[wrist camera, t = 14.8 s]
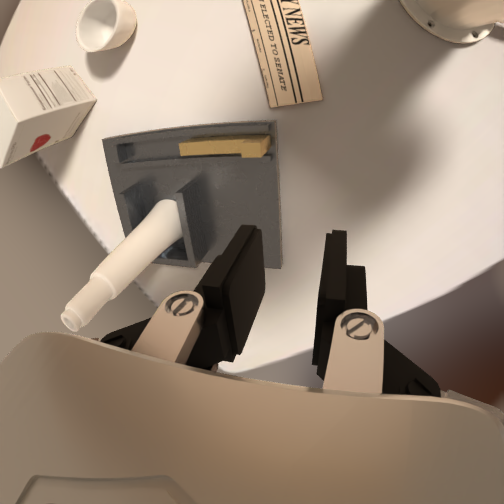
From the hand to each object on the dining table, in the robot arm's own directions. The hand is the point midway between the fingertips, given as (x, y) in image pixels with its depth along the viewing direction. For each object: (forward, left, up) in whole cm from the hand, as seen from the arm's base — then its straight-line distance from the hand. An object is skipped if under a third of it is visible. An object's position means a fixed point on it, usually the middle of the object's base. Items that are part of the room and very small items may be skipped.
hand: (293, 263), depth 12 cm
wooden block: (+11, 0, -24) cm, 26 cm away
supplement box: (+37, -9, -25) cm, 46 cm away
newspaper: (+4, -16, -26) cm, 31 cm away
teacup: (+25, -19, -25) cm, 41 cm away
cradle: (+18, +8, -25) cm, 32 cm away
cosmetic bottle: (+21, +10, -24) cm, 34 cm away
